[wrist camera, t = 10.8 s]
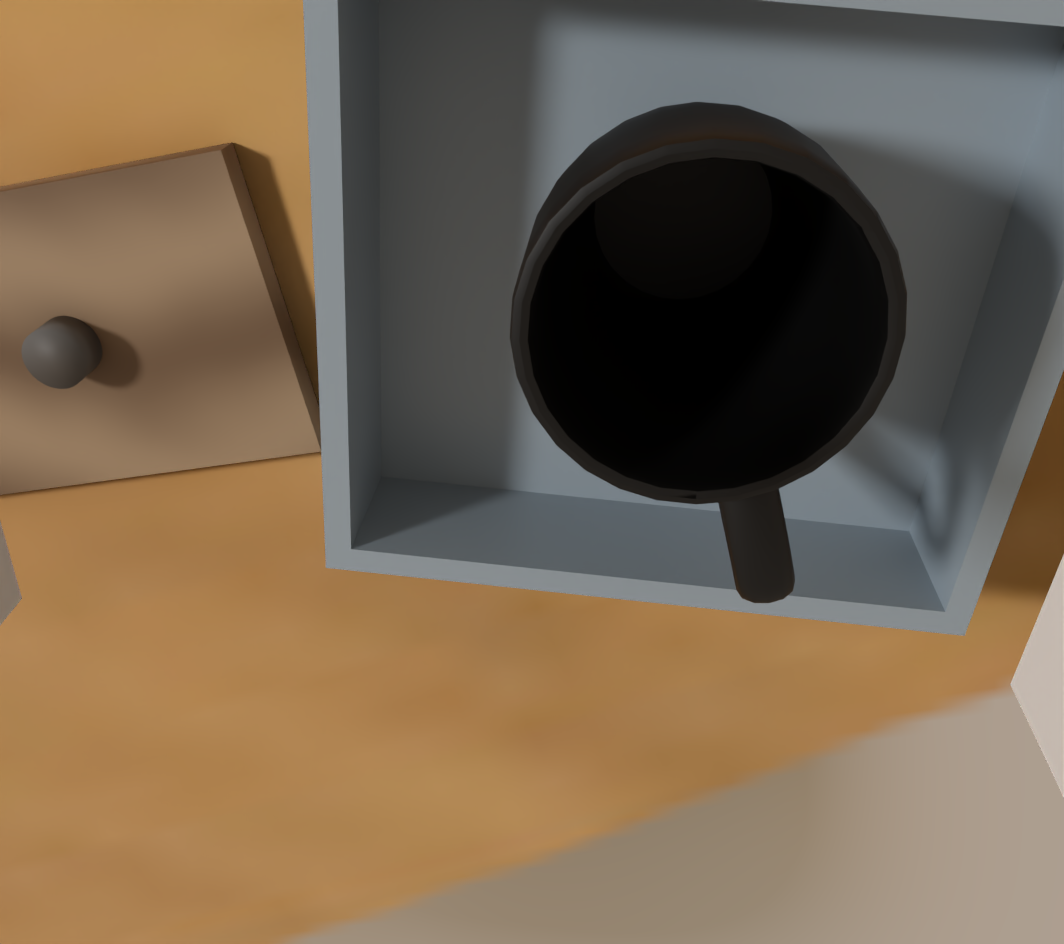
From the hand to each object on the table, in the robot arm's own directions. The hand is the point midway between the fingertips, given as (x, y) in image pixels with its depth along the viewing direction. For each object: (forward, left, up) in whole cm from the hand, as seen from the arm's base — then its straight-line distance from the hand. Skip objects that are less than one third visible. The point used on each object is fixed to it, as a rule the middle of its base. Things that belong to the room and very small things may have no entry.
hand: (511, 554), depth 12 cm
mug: (+3, +4, -19) cm, 20 cm away
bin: (+3, +3, -20) cm, 20 cm away
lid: (+7, -16, -20) cm, 26 cm away
